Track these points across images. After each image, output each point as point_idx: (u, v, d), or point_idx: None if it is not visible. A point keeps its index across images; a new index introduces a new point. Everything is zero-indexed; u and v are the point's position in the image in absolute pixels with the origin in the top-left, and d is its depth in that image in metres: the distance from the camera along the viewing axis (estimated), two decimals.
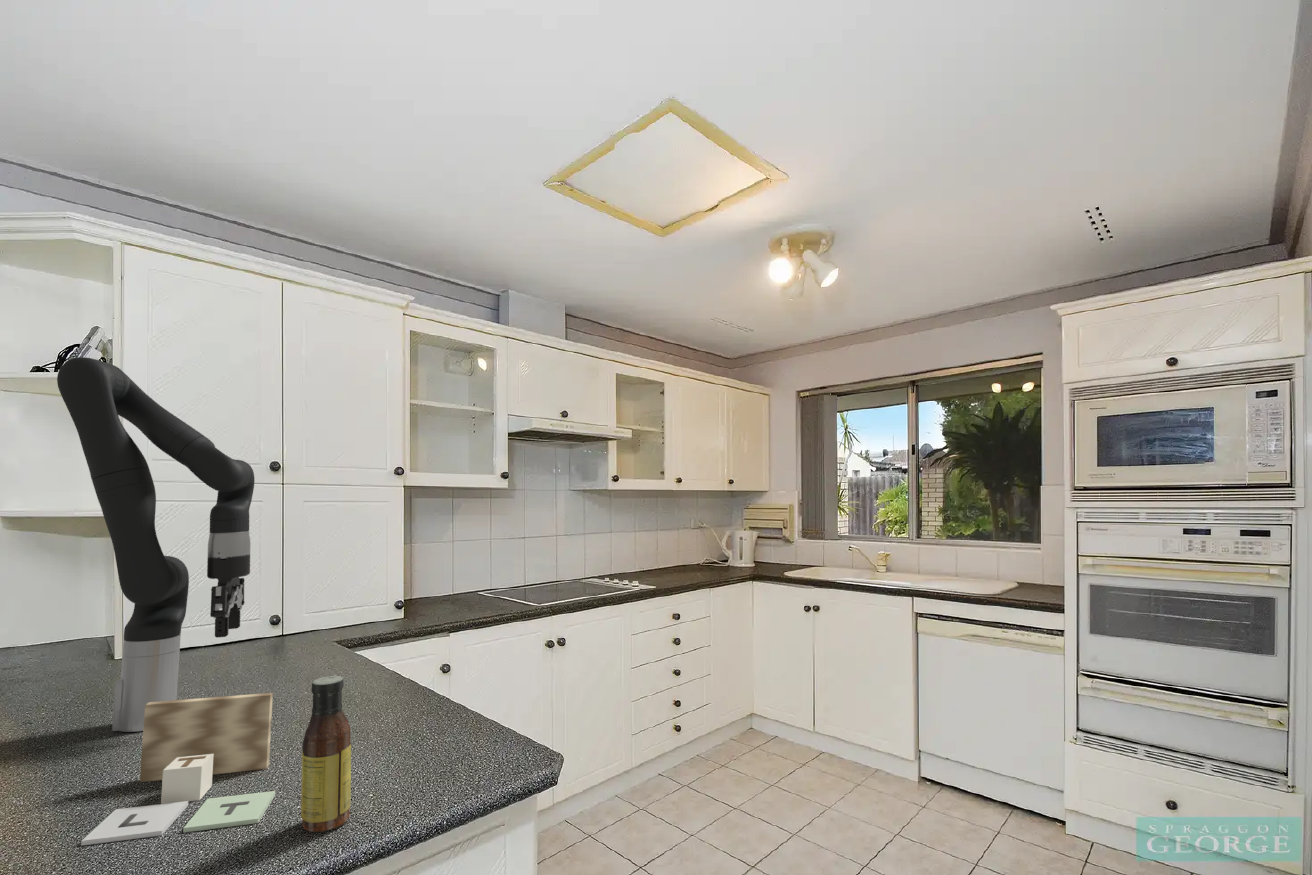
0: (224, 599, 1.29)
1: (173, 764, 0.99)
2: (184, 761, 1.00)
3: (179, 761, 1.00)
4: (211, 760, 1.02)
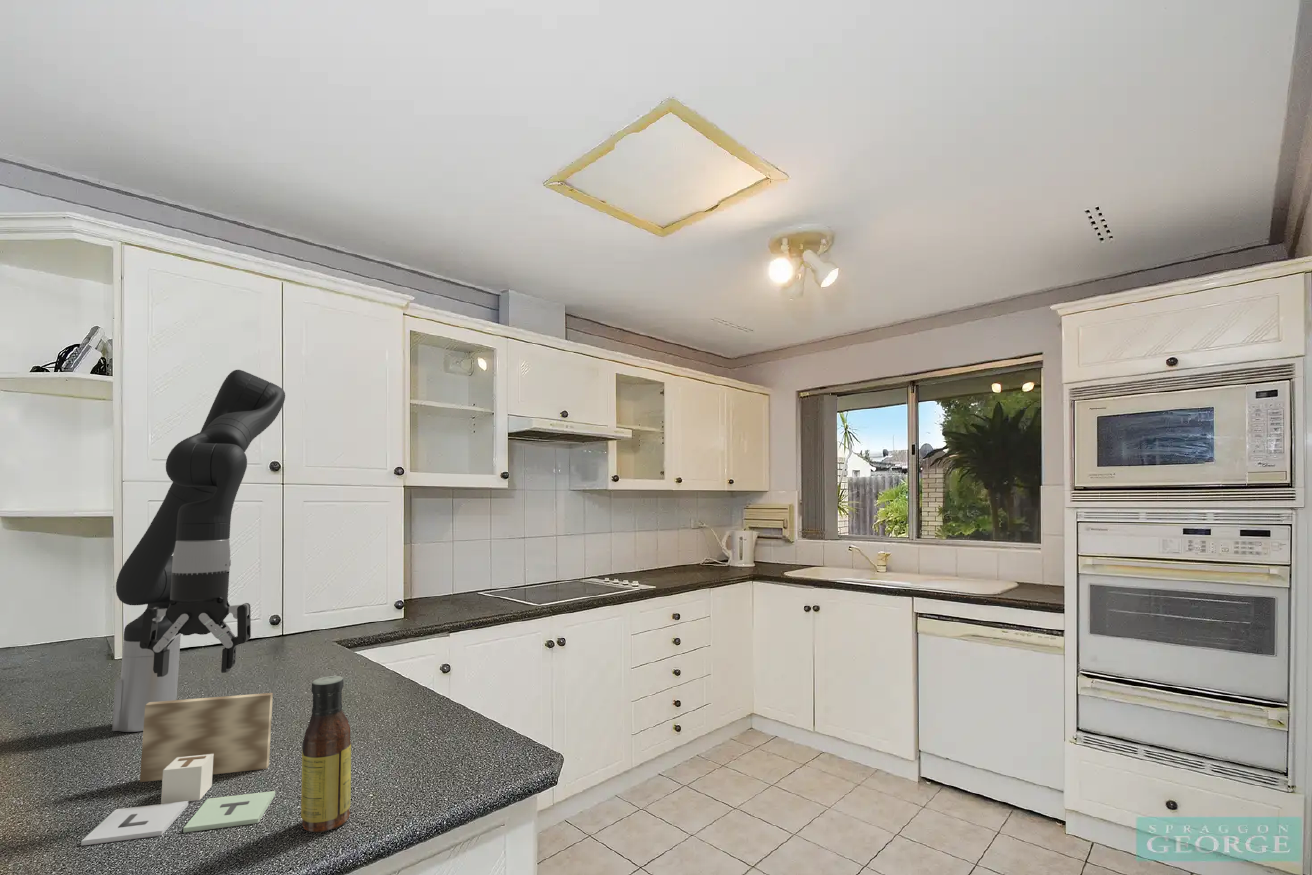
0: None
1: (173, 764, 0.99)
2: (184, 761, 1.00)
3: (179, 761, 1.00)
4: (211, 760, 1.02)
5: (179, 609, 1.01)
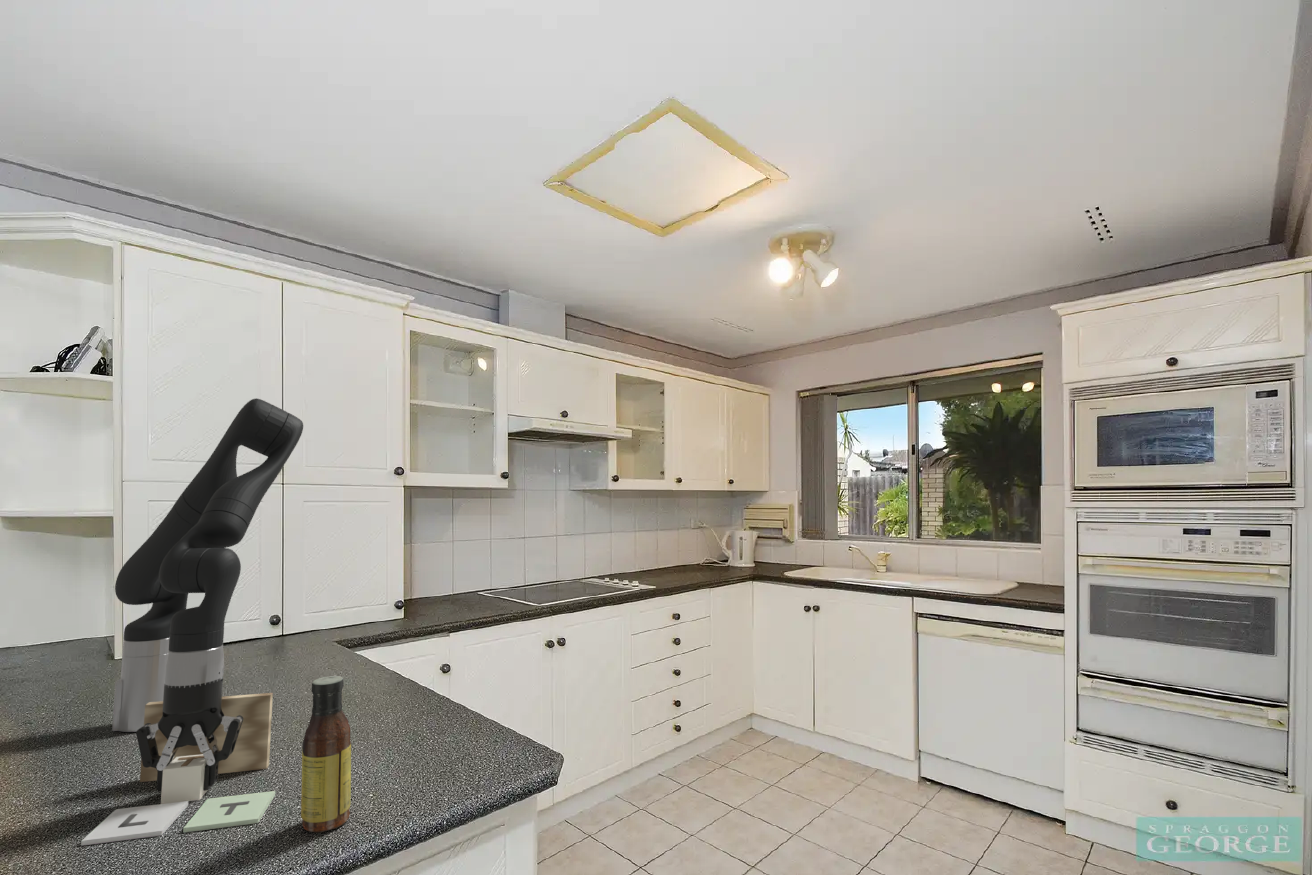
0: None
1: (173, 763, 0.99)
2: (184, 760, 1.00)
3: (179, 761, 1.00)
4: None
5: (170, 719, 0.99)
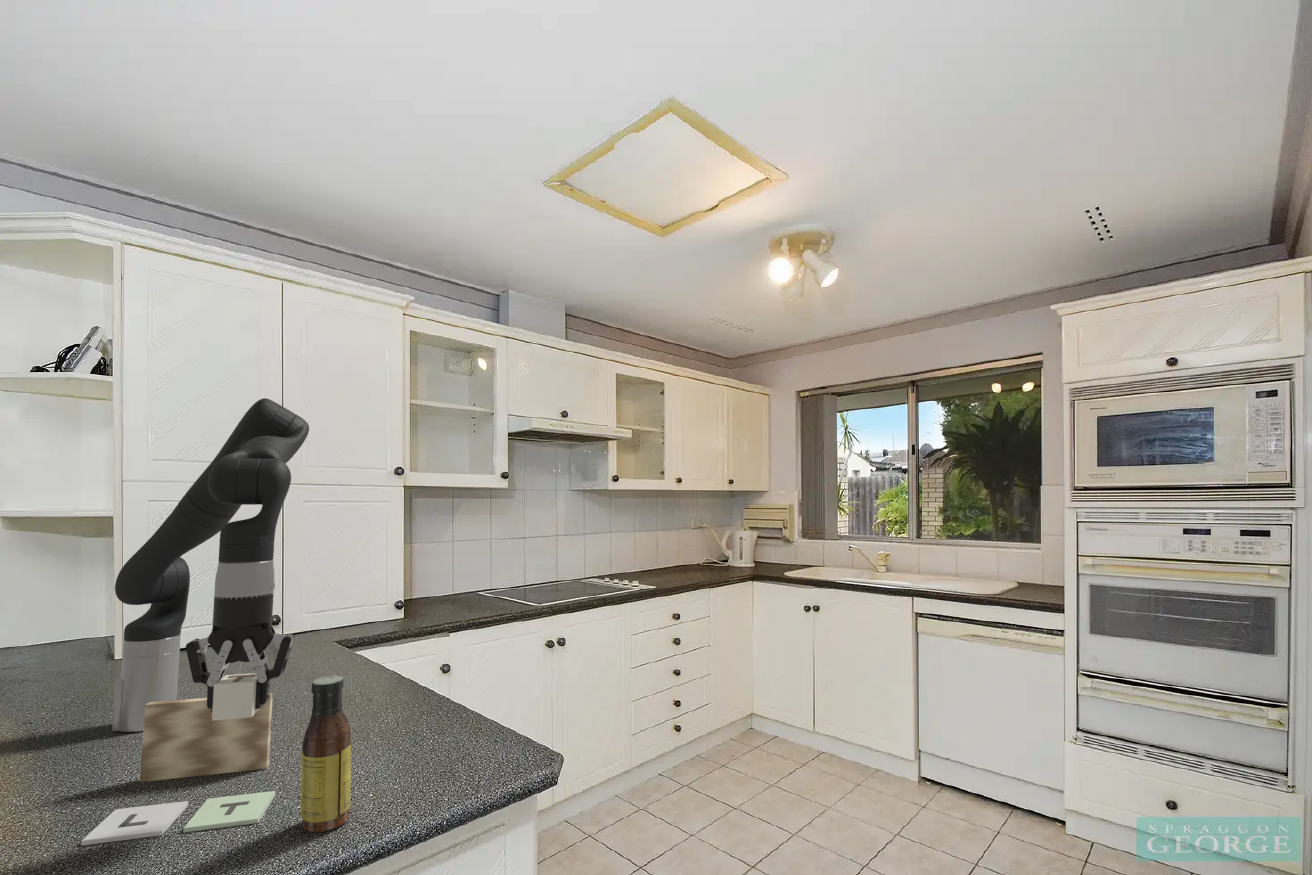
0: None
1: (223, 680, 0.95)
2: (234, 678, 0.96)
3: (229, 678, 0.96)
4: None
5: (221, 634, 0.95)
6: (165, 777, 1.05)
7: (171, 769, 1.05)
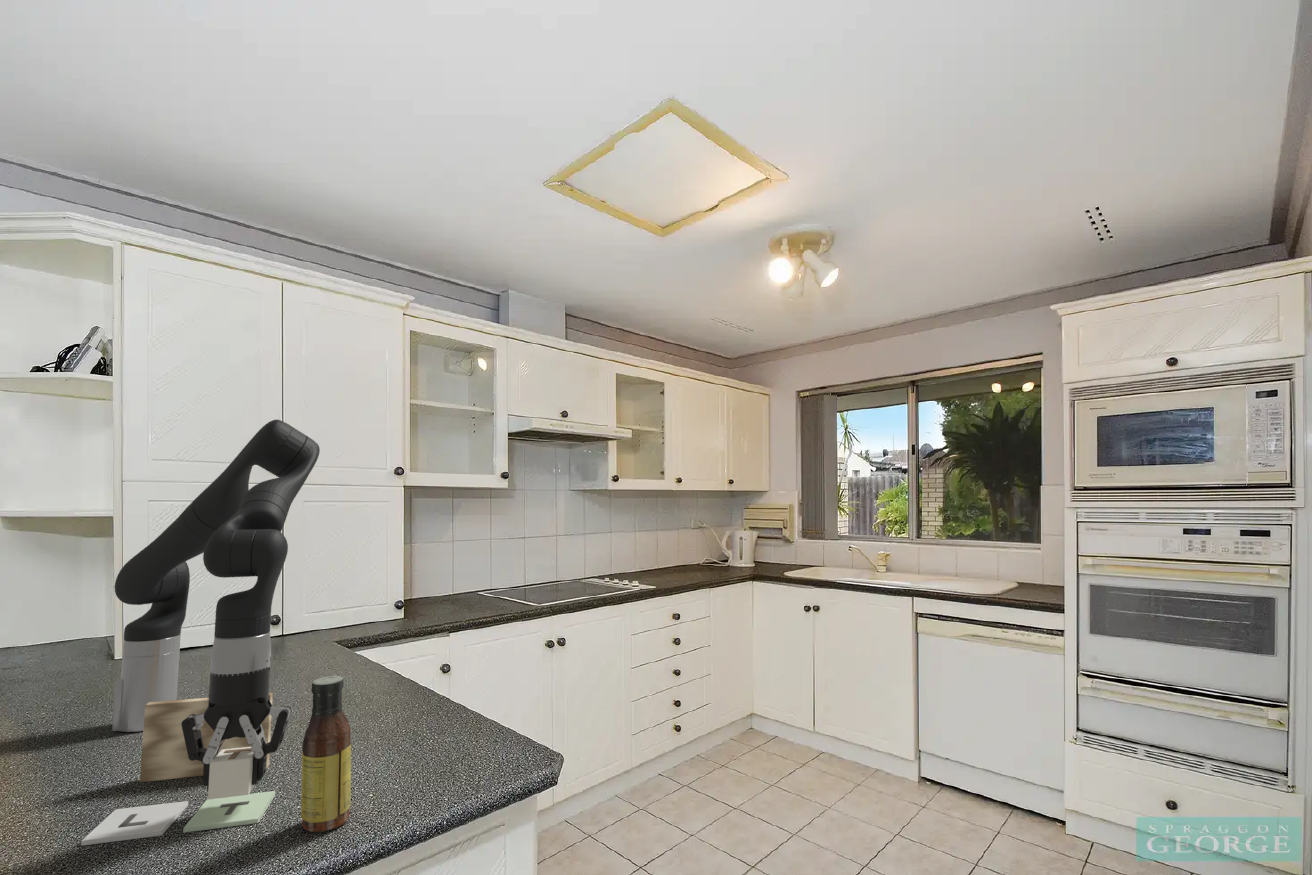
0: None
1: (219, 756, 0.94)
2: (230, 753, 0.95)
3: (225, 754, 0.95)
4: None
5: (217, 710, 0.94)
6: (165, 777, 1.05)
7: (171, 769, 1.05)
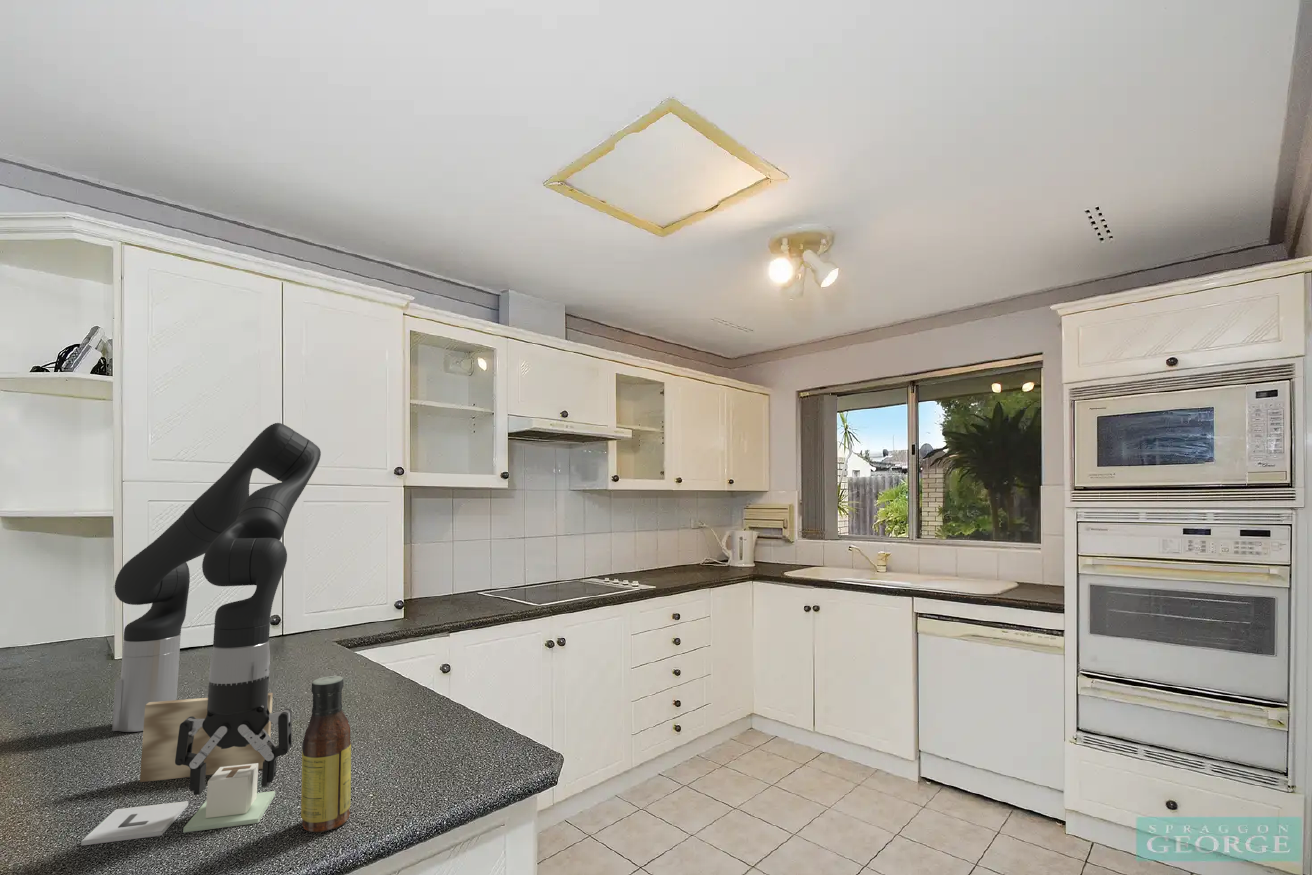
0: None
1: (217, 774, 0.94)
2: (228, 771, 0.95)
3: (223, 772, 0.94)
4: (256, 770, 0.97)
5: (217, 720, 0.94)
6: (165, 777, 1.05)
7: (171, 769, 1.05)
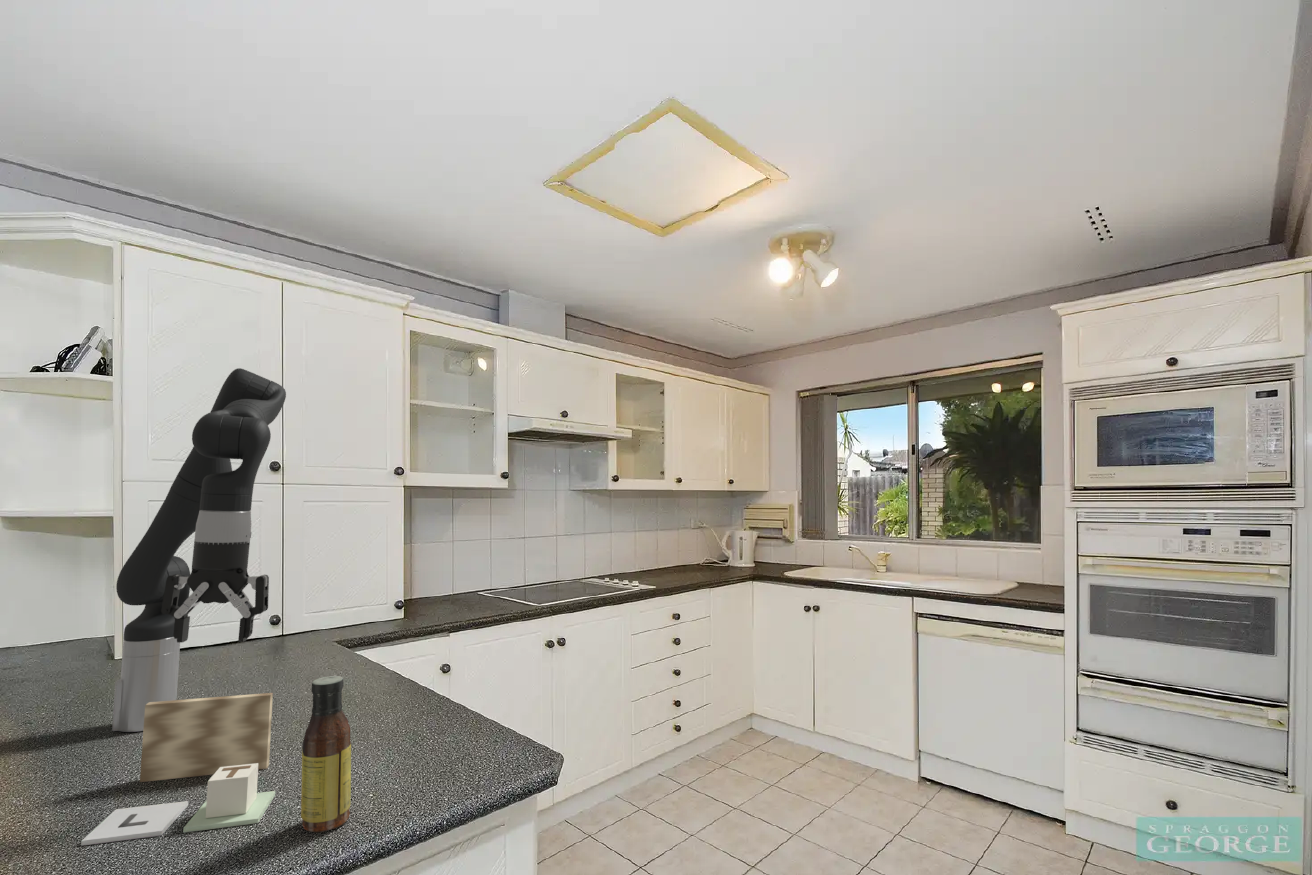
0: None
1: (217, 774, 0.94)
2: (228, 771, 0.95)
3: (223, 772, 0.94)
4: (256, 770, 0.97)
5: (200, 577, 1.03)
6: (165, 777, 1.05)
7: (171, 769, 1.05)
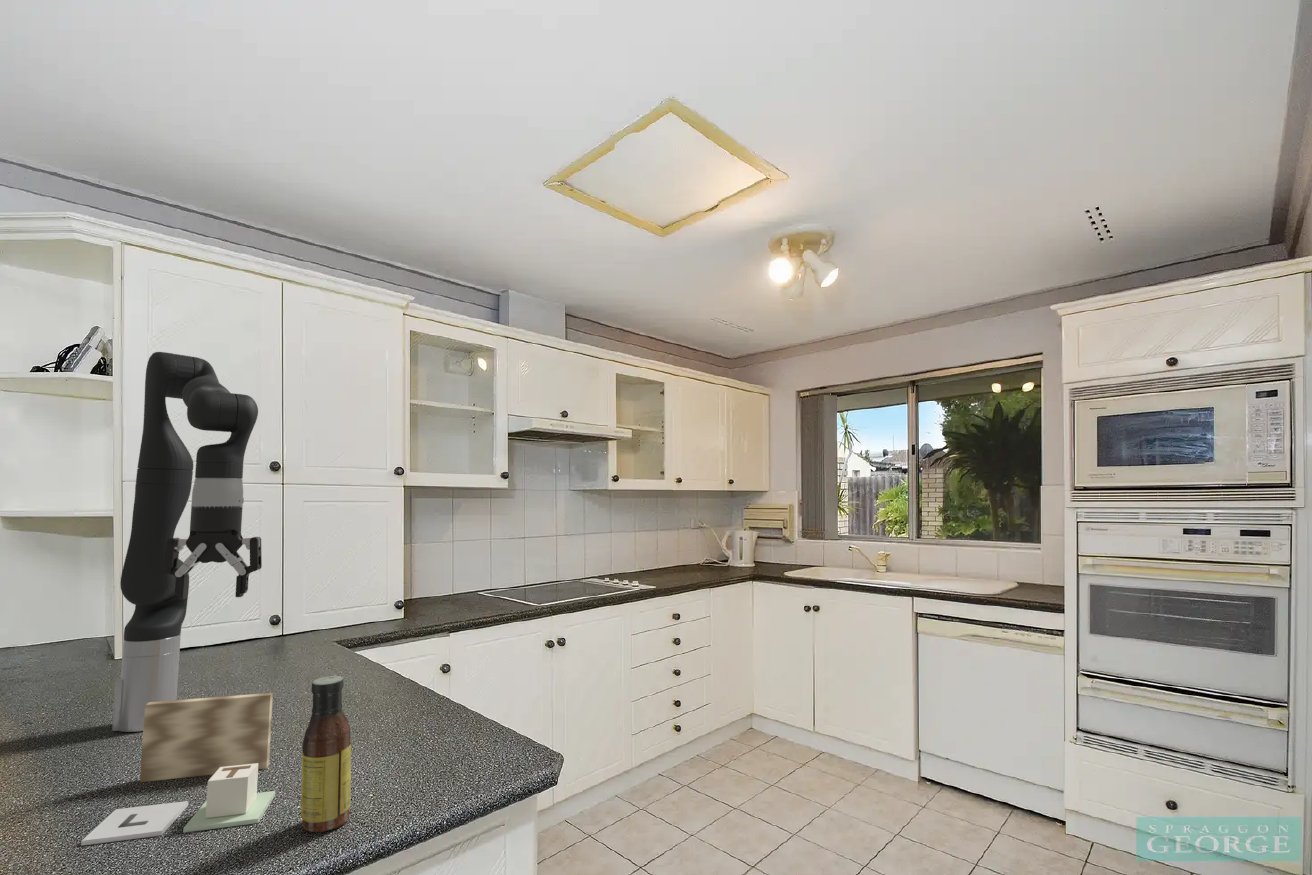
0: None
1: (217, 774, 0.94)
2: (228, 771, 0.95)
3: (223, 772, 0.94)
4: (256, 770, 0.97)
5: (198, 539, 1.12)
6: (165, 777, 1.05)
7: (171, 769, 1.05)
